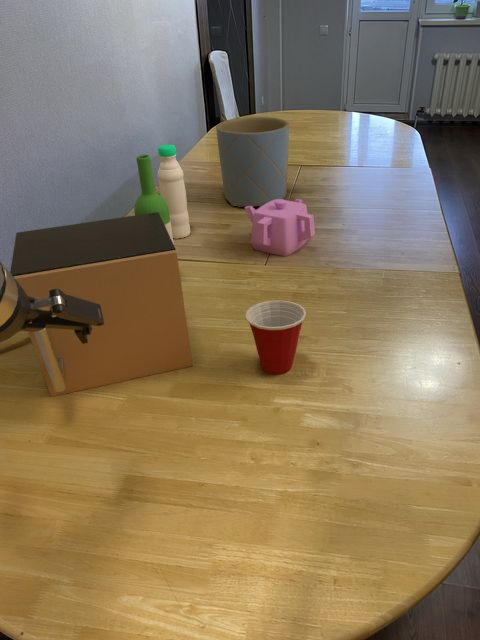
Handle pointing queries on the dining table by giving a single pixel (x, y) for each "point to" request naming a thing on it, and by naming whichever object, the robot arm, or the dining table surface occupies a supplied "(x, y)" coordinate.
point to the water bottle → (173, 191)
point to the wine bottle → (150, 194)
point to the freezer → (89, 243)
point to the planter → (253, 159)
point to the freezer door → (114, 322)
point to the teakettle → (280, 226)
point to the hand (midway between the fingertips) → (30, 344)
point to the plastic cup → (276, 333)
